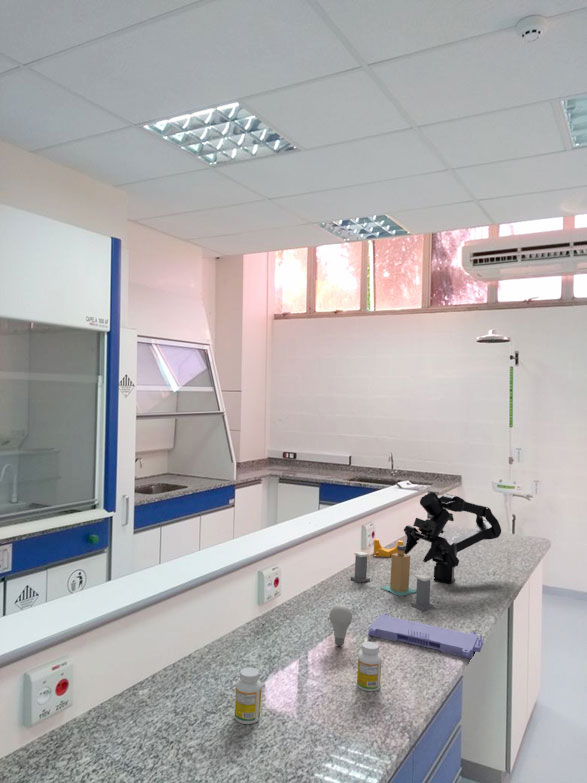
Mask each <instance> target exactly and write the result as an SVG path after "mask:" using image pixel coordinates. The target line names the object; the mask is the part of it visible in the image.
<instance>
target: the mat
mask: <svg viewBox="0 0 587 783" xmlns="http://www.w3.org/2000/svg"><path fill="white" fill-rule="evenodd" d="M381 588H383V589H385V590H384V591H386V590H387V591H386V592H388V591H390V592H392V593H391V594H393V593H394V594H393V595H395V594H396V596H397V595H398V596H397V597H403V596H402V595H404V596H407V595H406V594H408V595H411V594H416V592H417V589H414V588H412V587H409V590H407V591H402V592H398V591H395V590H393V589H391V588H390V585H386V586H381V587H380V589H381ZM383 589H382V590H383ZM390 592H389V593H390Z"/></svg>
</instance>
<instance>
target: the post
mask: <svg viewBox="0 0 587 783" xmlns="http://www.w3.org/2000/svg"><path fill="white" fill-rule="evenodd" d="M415 579H416V590H417V592H416V593H415V594H416V597H415V601H411V603H410V604H411V606H412V607H414V608H417V609H418V610H422V611H427V610H431V609H434V605H435V604H433V603H431V602H430V599H431V598H430V596H431V580H432V579H433V576H429V575H428V574H427V575H426V574H424V573H423V574H418V575H415Z"/></svg>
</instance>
